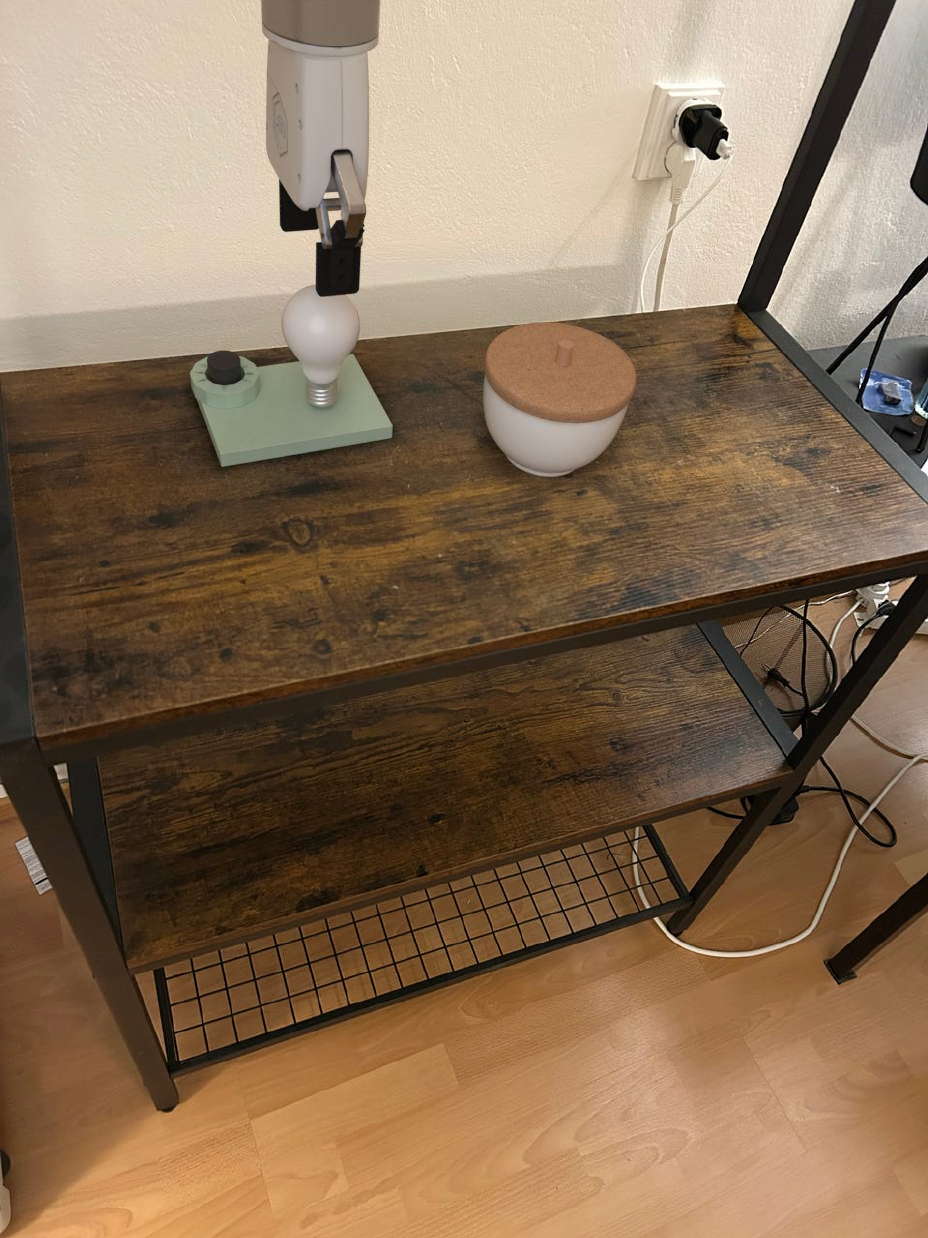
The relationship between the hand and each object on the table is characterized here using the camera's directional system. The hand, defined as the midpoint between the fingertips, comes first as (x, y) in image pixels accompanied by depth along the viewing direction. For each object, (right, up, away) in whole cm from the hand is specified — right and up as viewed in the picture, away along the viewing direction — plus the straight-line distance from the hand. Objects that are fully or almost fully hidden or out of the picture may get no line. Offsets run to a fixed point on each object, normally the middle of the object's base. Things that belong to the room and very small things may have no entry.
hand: (318, 259), depth 75 cm
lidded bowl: (+18, -13, +12) cm, 25 cm away
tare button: (-10, -7, +10) cm, 15 cm away
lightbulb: (-1, -9, +11) cm, 14 cm away
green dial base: (-4, -9, +11) cm, 15 cm away
